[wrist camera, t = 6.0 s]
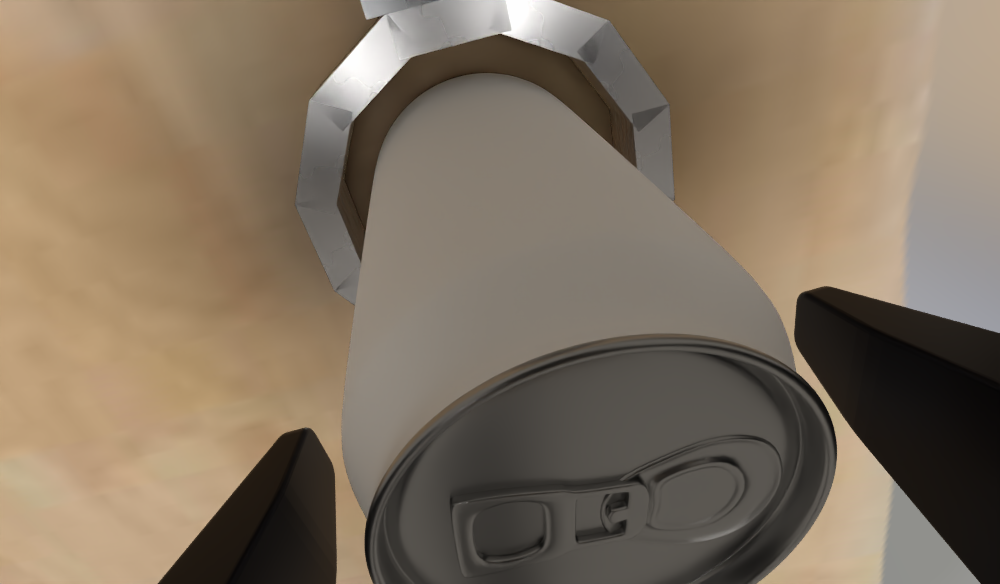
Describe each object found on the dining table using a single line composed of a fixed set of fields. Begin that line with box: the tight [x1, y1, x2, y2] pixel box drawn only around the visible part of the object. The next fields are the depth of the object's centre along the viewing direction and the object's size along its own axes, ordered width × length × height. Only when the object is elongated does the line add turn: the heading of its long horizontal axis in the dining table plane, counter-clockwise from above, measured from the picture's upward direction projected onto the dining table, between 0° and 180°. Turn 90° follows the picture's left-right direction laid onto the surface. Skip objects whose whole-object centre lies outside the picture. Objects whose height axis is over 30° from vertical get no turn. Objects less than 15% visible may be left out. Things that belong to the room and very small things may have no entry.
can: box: [342, 73, 837, 584], centre depth 12 cm, size 6×6×12 cm
